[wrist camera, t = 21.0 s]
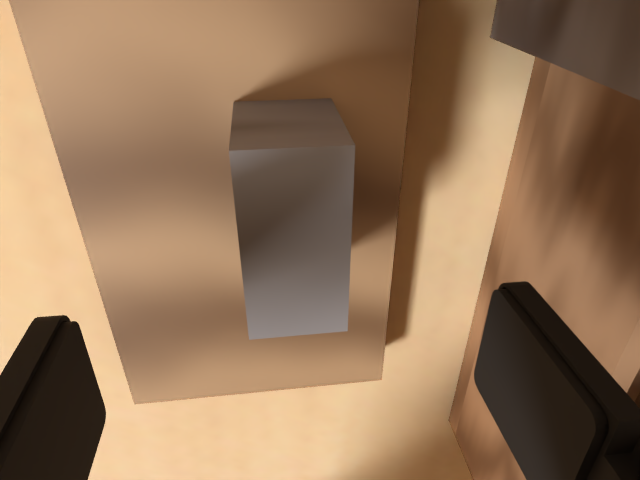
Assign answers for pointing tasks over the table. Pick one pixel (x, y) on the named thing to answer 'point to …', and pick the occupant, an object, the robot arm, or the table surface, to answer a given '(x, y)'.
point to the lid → (232, 180)
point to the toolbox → (566, 199)
